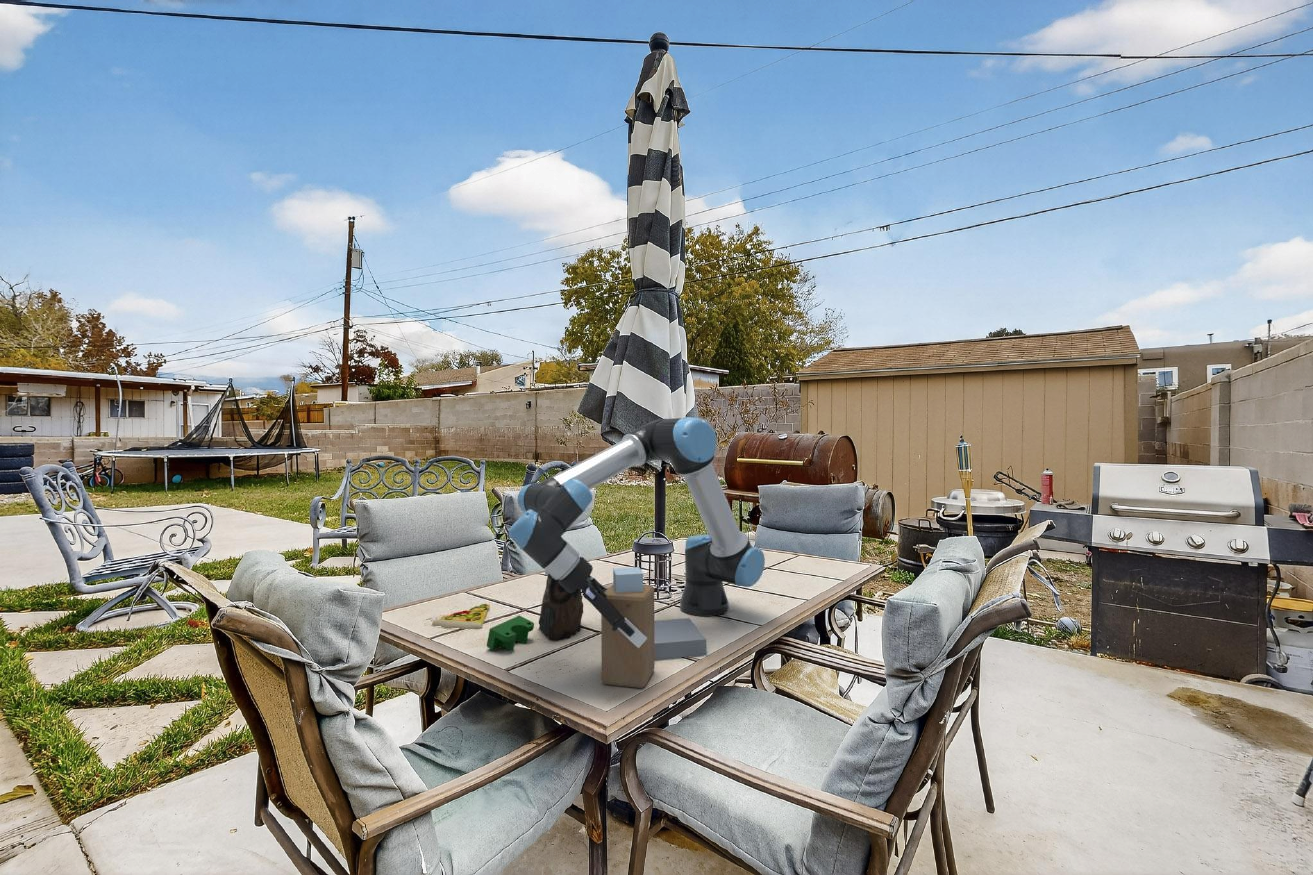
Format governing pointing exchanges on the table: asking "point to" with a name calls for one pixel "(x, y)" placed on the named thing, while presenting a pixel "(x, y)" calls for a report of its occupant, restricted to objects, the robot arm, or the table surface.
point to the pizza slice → (465, 618)
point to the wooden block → (617, 651)
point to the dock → (677, 639)
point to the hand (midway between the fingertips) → (637, 632)
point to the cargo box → (627, 580)
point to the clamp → (509, 633)
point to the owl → (560, 611)
